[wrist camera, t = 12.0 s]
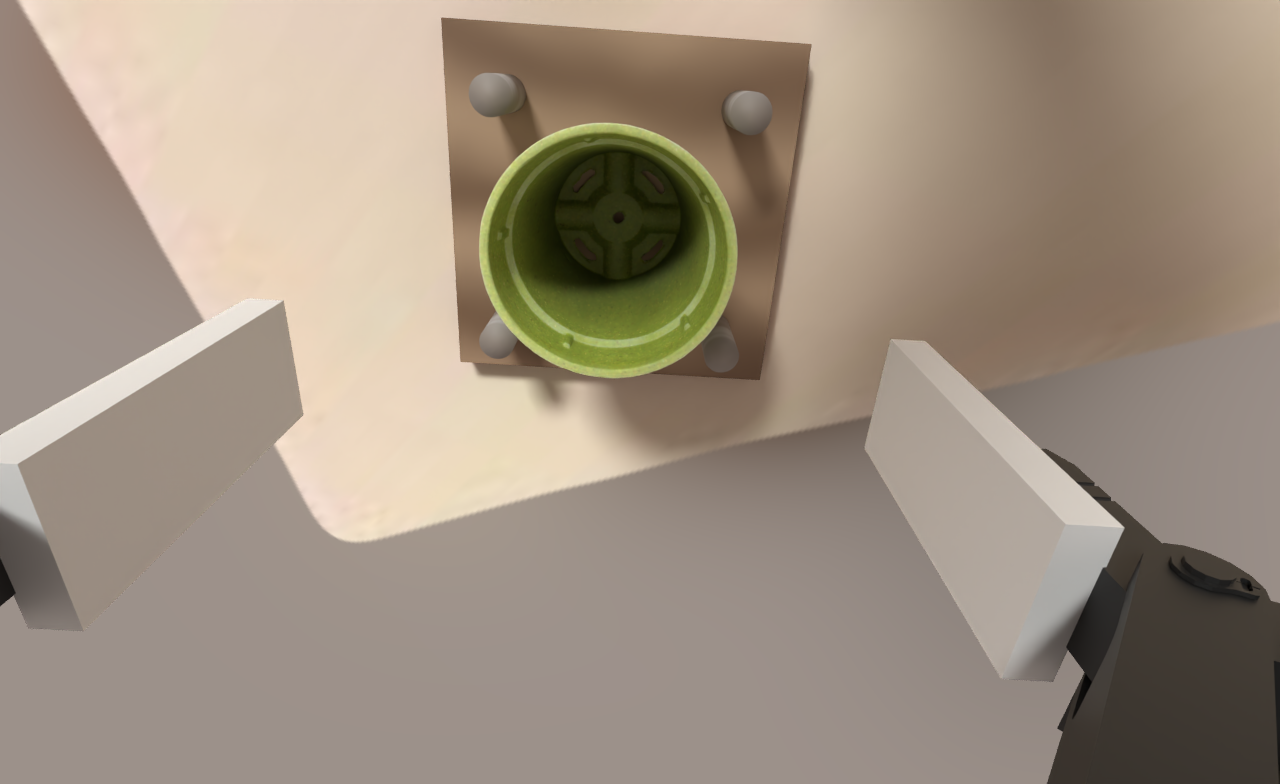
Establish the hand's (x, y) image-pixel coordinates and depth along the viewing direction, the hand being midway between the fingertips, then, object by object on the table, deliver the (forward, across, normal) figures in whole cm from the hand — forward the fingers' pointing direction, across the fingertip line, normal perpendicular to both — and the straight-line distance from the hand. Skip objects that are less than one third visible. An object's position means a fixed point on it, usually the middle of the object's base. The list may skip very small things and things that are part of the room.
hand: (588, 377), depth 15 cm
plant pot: (+19, 0, 0) cm, 19 cm away
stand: (+21, 0, 0) cm, 21 cm away
